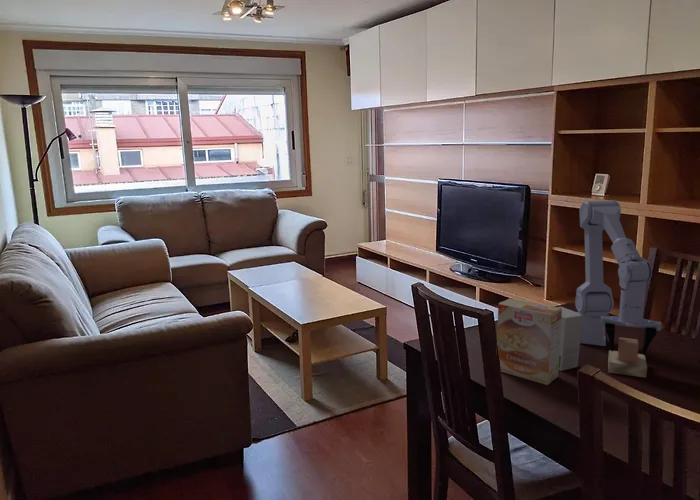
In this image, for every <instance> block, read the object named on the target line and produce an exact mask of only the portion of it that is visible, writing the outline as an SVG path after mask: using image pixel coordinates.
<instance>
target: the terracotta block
mask: <svg viewBox="0 0 700 500" xmlns="http://www.w3.org/2000/svg"><path fill="white" fill-rule="evenodd" d="M639 346H640V345H639V339H637V338H630V337H628V338H627V337H618V349H617V351H618V360H621V361H628V362H636V363H637V357H638V354H639Z"/></svg>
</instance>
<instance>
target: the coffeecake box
mask: <svg viewBox="0 0 700 500" xmlns="http://www.w3.org/2000/svg"><path fill="white" fill-rule="evenodd" d="M497 305H498V307H497V308H498V310H497V311H498V312H497V329H496V330H497V333H496V334H497V336H496V347H497V346H498V353H499V360H500V367H501V371H500V372H502V373H504V374H508V375H510V376H511V375H512V376H515V377H518V378H521V379H525V380H529V381H532V382H535V383H539V384H541V385H545V386H548V385H550V384H551V383H552V382H553V381H554V380H556V379H557V378H559V351H560V334H561V318H562V308H557V307H558V306H552V305H546V304H541V303H536V302H533V301H532V302H531V301H527V300H526V301H525V300H520V299H516V298H511V297H509V298H507V299H506V300H504V301H500V302H499V303H498V304H497Z"/></svg>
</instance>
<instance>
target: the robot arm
mask: <svg viewBox="0 0 700 500" xmlns="http://www.w3.org/2000/svg"><path fill="white" fill-rule="evenodd" d="M620 205H621V204H620V203H619V202H618V200H616V199H612V200H584V201H582V204H581V206H580V208H579V227H580V228H581V229H583V230H584V231H583V232H584V233H583V234H584V258H585V259H584V262H585V263H584V264H585V265H584V266H585V267H584V270H585V281H584V283H582V284H581V285H580V286H578V287H577V288H576V292H575V293H576V294H575V298H574V299H575V300H574V305H575V309H576V310H577V311H575V312H576V313H578V314H581V315H583V320H582V329H581V339H580V344H584V345H591V346H592V345H593V346H599V347H600V346H601V347H605V346H607V340H606V335H605V333H606V334H607V337H608V340H609V344H610V350H611V351H615V334H616V332H615V331H616V326H617V327H626V328H627V327H628V328H629V327H630V328H638V329H639V328H640V329H643V341H642V346H641V347H642V348H641V354H642V355H645V356H646V354H647V351H648V348H649V346H650V344H651V343H652V341H653V339H654V338H655V337H656V336H657V331H658V332H659V331H660V332H661V331H662V322H661V321H656V320H652V319H651V320H650V319H645V318H644V309H645V298H646V285H647V282H649V281H651V278H652V275H653V270H652V266H651V263H650V261H649V260H647V259H645V258H644V257H643V256H641V255H640V253H639V251H638V249H637V247H636V245H635V243H634V242H633V241H634V240H632V239H631V238H627V236H626V234H625V232H624V227H623V226H622V223H621V221H620V218H621V213H622V212H621V210H622V208H621V206H620ZM604 230H605V232H606V233H607V235H608V237H609V239H610V240H611V242H612V245H611V248H610V249H611V251H612V253H613V256H614V258H615V260H616V262H617V264H618V268H617V275H618V279H619V283H618V285H619V287H620V300H619V311H618V314H619V315H618V316H616V315H612V316H611V315H609V313H611V312H612V310H614V305H615V303H614V297H613V294H612V293H613V292H612V291H613V290H612V288H611V287H610V286H608V284H606V283H605V282H604V260H603V259H604V255H603V253H604V249H603V231H604Z"/></svg>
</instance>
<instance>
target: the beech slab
mask: <svg viewBox="0 0 700 500" xmlns="http://www.w3.org/2000/svg"><path fill="white" fill-rule="evenodd" d="M607 357H608V358H607V359H608V360H607V364H608V366H607V367H608V373H610V374H616V375H617V374H618V375H624V376H625V375H626V376H630V377H631V376H632V377H638V378H647V374H648V373H647V372H648V365H647V359H646V355H642V353H638V357H637V363H636V362H628V361H621V360H618V350H614V351H611V349H610V350H608V356H607Z"/></svg>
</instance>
